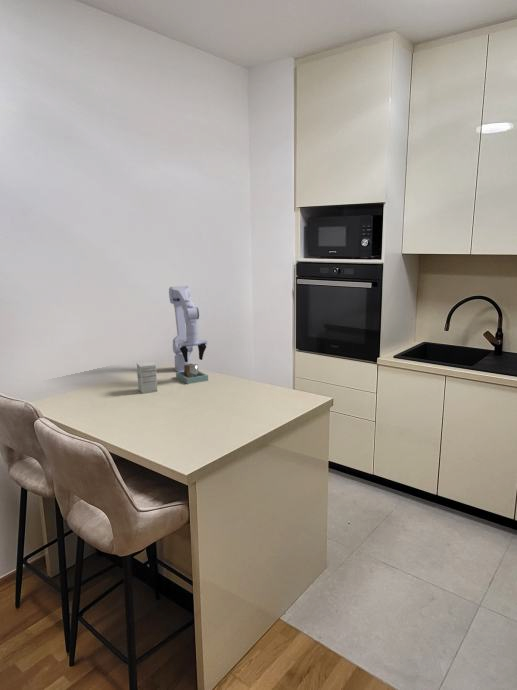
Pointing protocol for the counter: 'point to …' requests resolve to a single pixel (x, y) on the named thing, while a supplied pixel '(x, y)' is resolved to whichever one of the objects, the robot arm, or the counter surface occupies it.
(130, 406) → the counter surface
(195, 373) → the grey peg
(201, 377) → the parts tray
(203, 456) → the counter surface
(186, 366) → the walnut block
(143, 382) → the supplement box
